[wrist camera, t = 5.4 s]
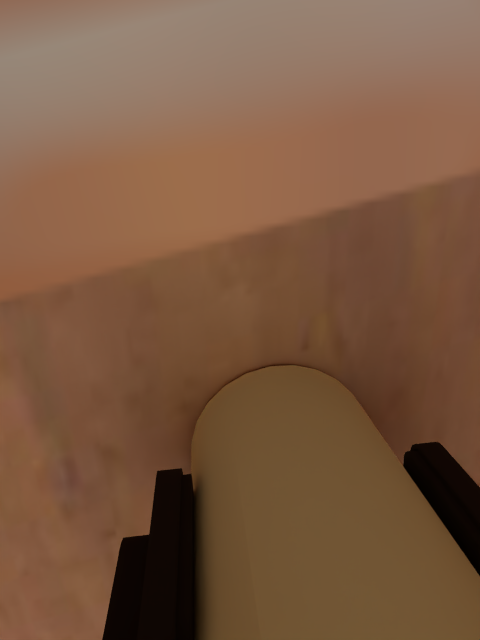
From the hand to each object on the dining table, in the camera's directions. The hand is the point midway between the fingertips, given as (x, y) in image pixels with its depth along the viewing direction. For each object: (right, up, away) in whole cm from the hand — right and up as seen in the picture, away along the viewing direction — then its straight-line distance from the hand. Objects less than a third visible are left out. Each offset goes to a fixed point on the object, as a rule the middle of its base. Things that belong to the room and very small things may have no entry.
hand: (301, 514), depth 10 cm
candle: (0, +1, +3) cm, 3 cm away
